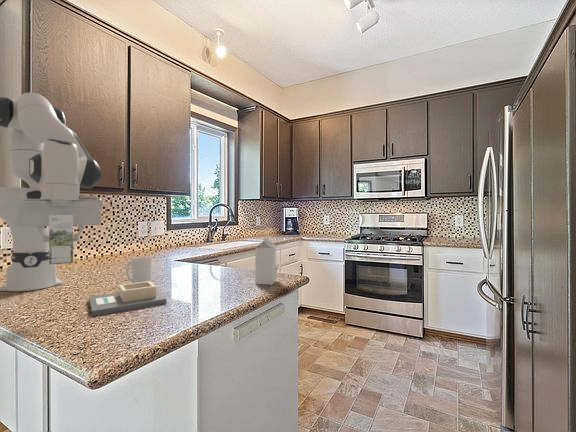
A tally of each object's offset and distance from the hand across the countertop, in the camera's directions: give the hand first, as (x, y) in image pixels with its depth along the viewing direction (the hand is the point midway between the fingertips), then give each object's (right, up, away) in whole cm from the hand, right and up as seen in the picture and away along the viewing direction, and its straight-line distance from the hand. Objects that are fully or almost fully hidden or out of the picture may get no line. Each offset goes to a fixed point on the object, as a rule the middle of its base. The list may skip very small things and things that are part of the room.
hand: (61, 241), depth 87 cm
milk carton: (+58, -21, +36) cm, 71 cm away
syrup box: (0, -7, 0) cm, 7 cm away
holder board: (+14, -21, +9) cm, 27 cm away
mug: (+9, -21, +27) cm, 35 cm away
